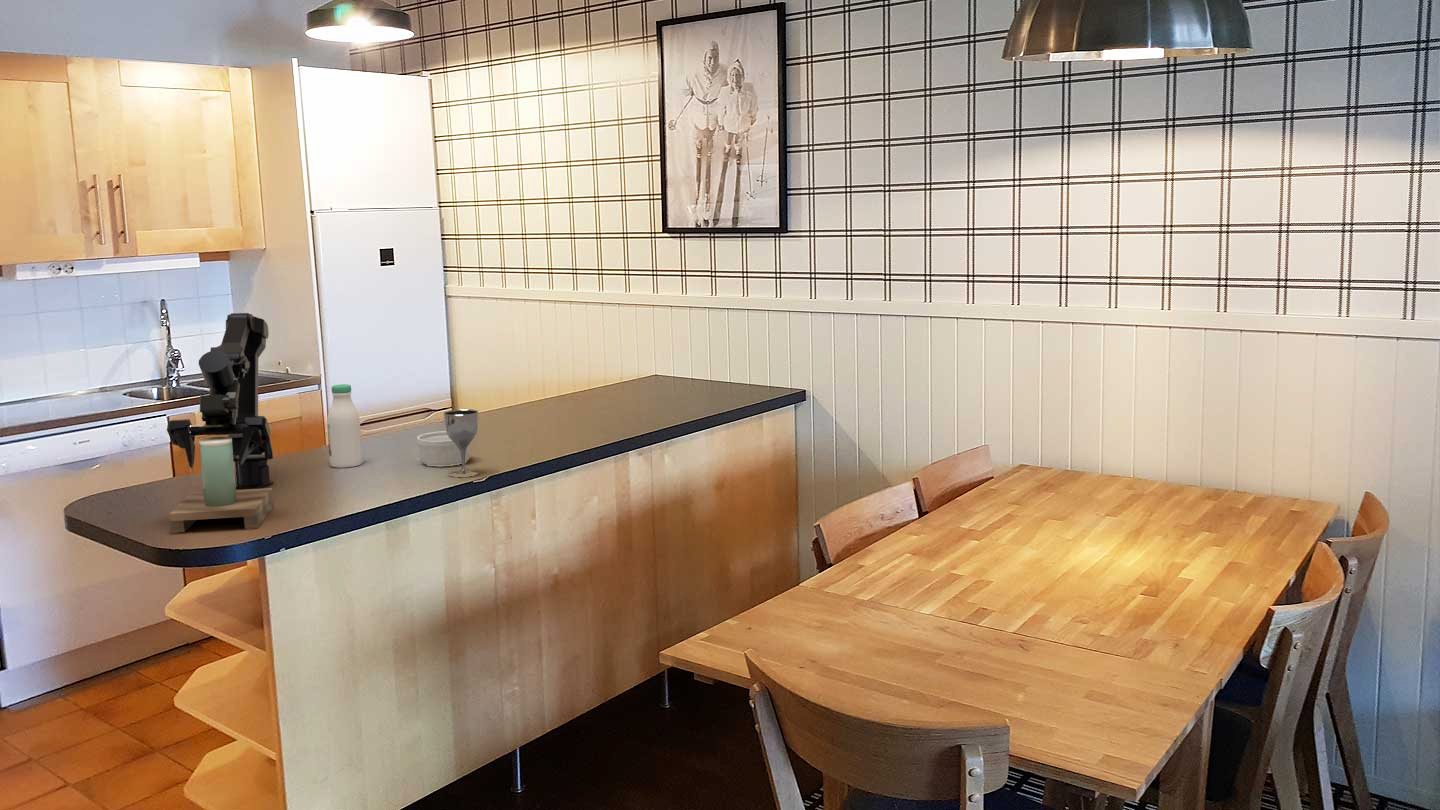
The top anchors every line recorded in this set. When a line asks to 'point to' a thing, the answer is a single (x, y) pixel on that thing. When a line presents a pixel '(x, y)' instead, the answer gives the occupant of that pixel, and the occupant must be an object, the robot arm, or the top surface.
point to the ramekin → (439, 449)
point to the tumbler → (218, 471)
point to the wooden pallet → (223, 509)
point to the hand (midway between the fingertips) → (215, 465)
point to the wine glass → (461, 430)
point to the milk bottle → (344, 429)
